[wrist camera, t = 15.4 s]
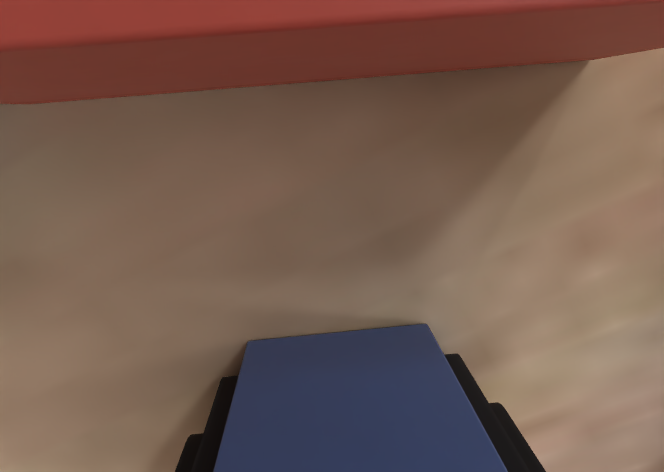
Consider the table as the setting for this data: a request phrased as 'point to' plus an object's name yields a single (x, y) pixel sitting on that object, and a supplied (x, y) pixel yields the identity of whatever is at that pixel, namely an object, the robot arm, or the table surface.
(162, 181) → the table surface
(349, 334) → the blue block
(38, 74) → the red bin
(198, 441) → the robot arm
